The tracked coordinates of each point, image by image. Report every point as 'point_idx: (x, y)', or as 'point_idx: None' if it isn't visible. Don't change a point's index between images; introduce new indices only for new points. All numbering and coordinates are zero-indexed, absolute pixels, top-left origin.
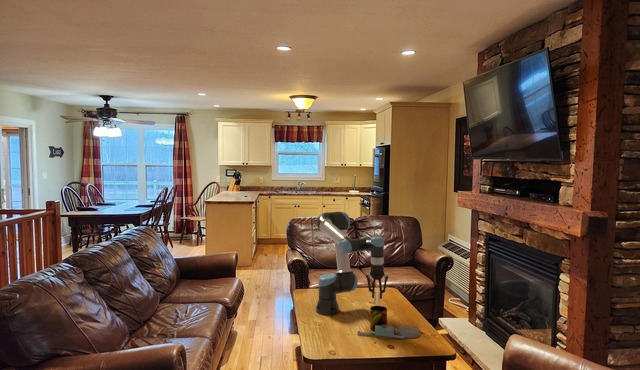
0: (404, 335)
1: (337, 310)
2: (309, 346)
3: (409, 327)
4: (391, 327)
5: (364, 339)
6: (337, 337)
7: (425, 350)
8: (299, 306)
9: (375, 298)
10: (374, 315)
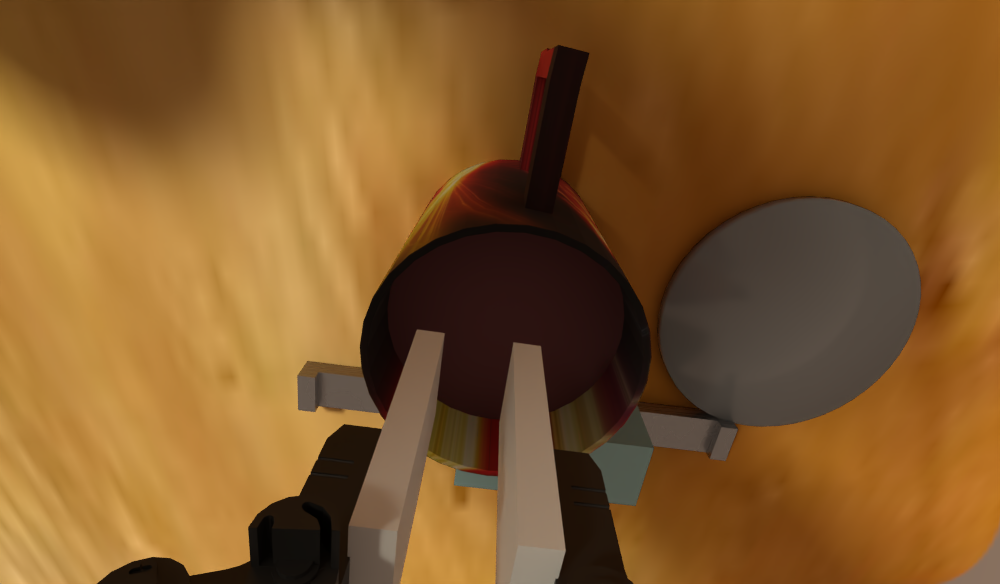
0: (728, 434)
1: None
2: (3, 567)
3: (854, 224)
4: (627, 462)
5: None
6: (148, 440)
7: (812, 566)
8: None
9: (424, 443)
10: (441, 415)
